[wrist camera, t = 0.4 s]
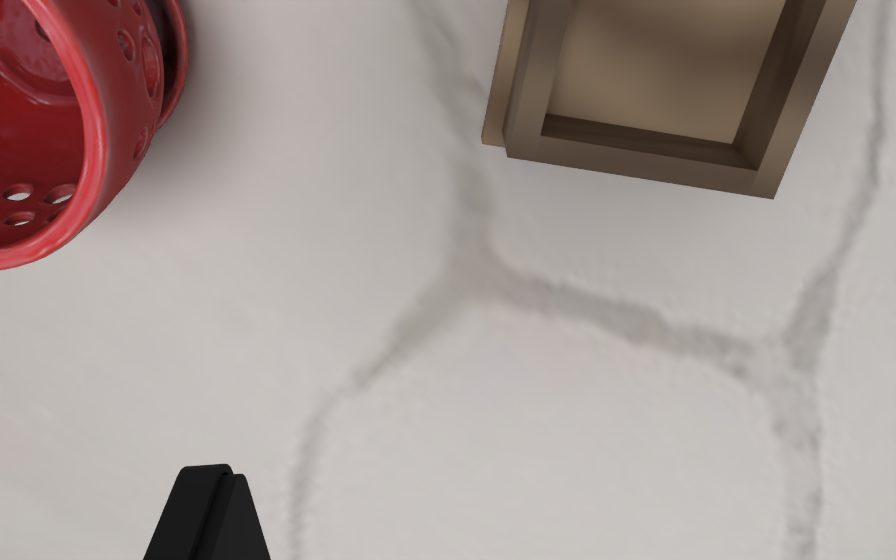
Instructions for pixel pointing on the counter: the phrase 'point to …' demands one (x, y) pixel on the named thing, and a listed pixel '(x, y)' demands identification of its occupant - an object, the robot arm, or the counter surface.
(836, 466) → the counter surface
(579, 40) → the square wooden tray
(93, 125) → the plant pot
